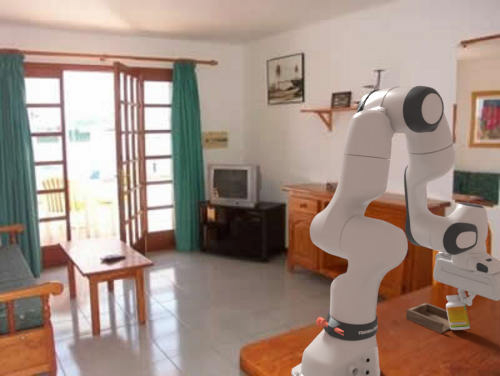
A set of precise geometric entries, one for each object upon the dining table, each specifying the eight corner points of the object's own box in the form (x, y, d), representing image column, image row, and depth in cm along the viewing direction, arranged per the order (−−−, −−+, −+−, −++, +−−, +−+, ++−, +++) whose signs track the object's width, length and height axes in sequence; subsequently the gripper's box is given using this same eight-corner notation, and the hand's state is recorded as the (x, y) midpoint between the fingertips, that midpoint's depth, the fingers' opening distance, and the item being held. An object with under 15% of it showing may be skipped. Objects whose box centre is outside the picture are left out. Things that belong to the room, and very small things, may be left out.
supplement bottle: (472, 329, 129) (465, 294, 131) (452, 330, 130) (445, 295, 132) (467, 327, 134) (461, 294, 136) (448, 329, 135) (442, 296, 137)
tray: (441, 333, 131) (441, 323, 131) (406, 318, 141) (406, 309, 141) (460, 324, 137) (461, 315, 136) (425, 311, 147) (426, 302, 146)
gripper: (429, 251, 135) (428, 295, 138) (498, 270, 118) (494, 319, 121) (442, 247, 139) (440, 290, 141) (510, 265, 122) (507, 313, 124)
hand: (466, 304), depth 131 cm, fingers closed
